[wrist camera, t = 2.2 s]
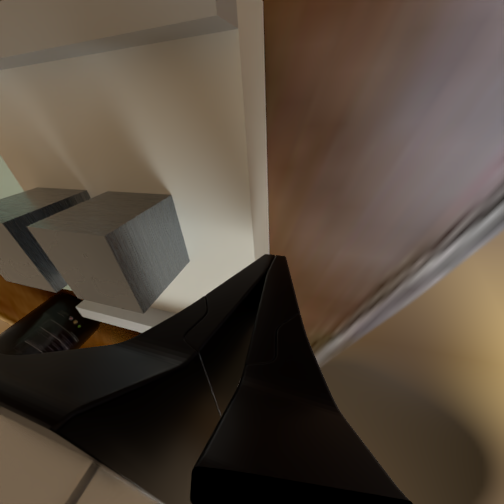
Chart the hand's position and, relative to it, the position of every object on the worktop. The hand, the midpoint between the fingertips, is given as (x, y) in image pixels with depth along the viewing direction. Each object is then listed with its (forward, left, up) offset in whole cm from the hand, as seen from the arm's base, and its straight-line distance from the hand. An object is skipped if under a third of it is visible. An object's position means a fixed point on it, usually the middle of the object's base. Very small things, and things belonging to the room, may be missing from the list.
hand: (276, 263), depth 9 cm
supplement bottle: (-16, +27, -5) cm, 32 cm away
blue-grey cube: (0, +7, -2) cm, 8 cm away
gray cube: (0, +13, -2) cm, 13 cm away
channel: (0, +9, -5) cm, 10 cm away
